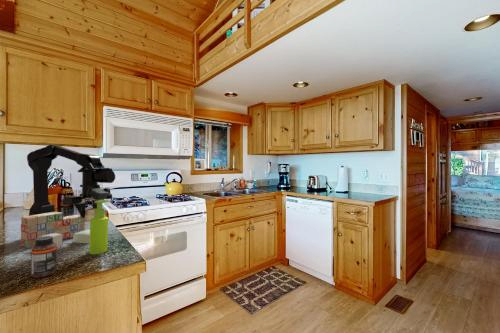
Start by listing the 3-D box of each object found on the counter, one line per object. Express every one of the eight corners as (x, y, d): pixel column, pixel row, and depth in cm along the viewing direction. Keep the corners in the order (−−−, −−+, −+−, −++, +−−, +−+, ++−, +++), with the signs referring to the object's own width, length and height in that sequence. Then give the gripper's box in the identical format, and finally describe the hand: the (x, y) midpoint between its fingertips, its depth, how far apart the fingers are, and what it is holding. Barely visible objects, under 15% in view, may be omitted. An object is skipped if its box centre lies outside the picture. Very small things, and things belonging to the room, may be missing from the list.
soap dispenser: (113, 249, 93) (114, 199, 93) (96, 255, 86) (97, 202, 87) (102, 247, 95) (103, 199, 95) (85, 253, 88) (86, 201, 88)
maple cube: (79, 220, 102) (79, 209, 102) (90, 218, 107) (90, 207, 107) (87, 222, 101) (88, 210, 101) (98, 219, 105) (98, 208, 105)
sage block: (73, 242, 100) (73, 233, 100) (89, 237, 108) (89, 228, 108) (89, 244, 99) (89, 234, 99) (103, 238, 107) (103, 230, 107)
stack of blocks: (77, 232, 115) (78, 208, 115) (84, 234, 112) (85, 209, 112) (20, 245, 95) (20, 216, 95) (27, 248, 93) (27, 217, 93)
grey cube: (40, 248, 92) (40, 236, 92) (54, 244, 97) (54, 233, 97) (48, 250, 91) (48, 237, 91) (62, 246, 96) (62, 234, 96)
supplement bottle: (41, 269, 74) (42, 234, 74) (61, 269, 74) (62, 234, 74) (25, 278, 68) (25, 240, 68) (46, 278, 68) (47, 240, 68)
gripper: (81, 184, 92) (80, 223, 92) (121, 182, 110) (120, 214, 110) (62, 183, 96) (62, 220, 96) (104, 181, 114) (103, 212, 114)
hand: (89, 216), depth 104 cm, fingers closed on maple cube, 5 cm apart
